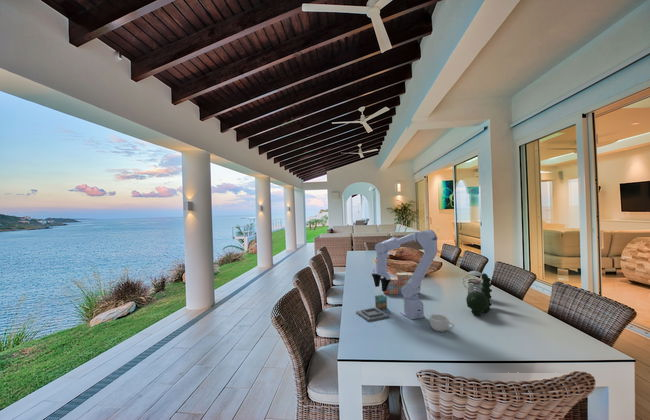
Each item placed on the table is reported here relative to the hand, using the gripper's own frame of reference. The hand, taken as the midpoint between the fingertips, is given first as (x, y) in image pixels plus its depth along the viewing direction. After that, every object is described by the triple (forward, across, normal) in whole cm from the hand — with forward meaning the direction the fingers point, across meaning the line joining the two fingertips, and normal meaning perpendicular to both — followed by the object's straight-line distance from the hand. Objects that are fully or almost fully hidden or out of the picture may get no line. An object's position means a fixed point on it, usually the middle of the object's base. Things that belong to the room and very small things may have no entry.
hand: (380, 288), depth 152 cm
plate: (+10, +9, -9) cm, 16 cm away
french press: (+8, +6, +60) cm, 60 cm away
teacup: (+8, +35, +10) cm, 38 cm away
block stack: (+10, +1, 0) cm, 10 cm away
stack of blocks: (+11, -18, +25) cm, 32 cm away
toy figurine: (+7, +25, +44) cm, 51 cm away
